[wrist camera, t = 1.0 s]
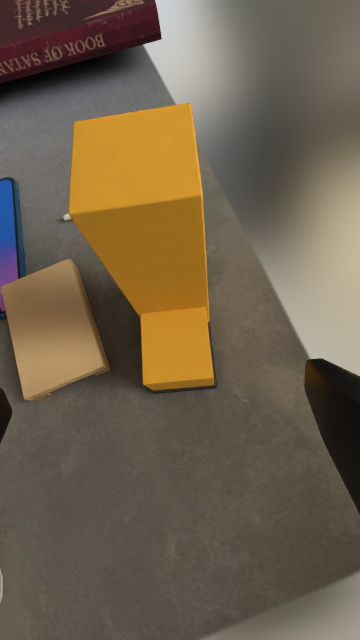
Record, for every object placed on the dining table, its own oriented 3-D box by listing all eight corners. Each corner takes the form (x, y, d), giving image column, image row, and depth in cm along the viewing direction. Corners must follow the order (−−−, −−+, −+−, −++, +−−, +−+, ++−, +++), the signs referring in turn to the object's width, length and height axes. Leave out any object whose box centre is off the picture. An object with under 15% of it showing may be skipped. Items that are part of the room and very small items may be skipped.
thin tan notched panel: (111, 369, 23) (103, 366, 21) (36, 401, 23) (23, 400, 21) (78, 267, 26) (69, 257, 25) (12, 294, 26) (0, 286, 24)
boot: (148, 281, 25) (73, 120, 12) (204, 275, 25) (190, 101, 11) (153, 393, 22) (59, 345, 9) (216, 388, 22) (219, 328, 8)
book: (155, -1, 27) (165, 62, 32) (129, -93, 35) (140, -32, 40) (-133, 80, 29) (-84, 129, 34) (-96, -25, 37) (-60, 26, 42)
